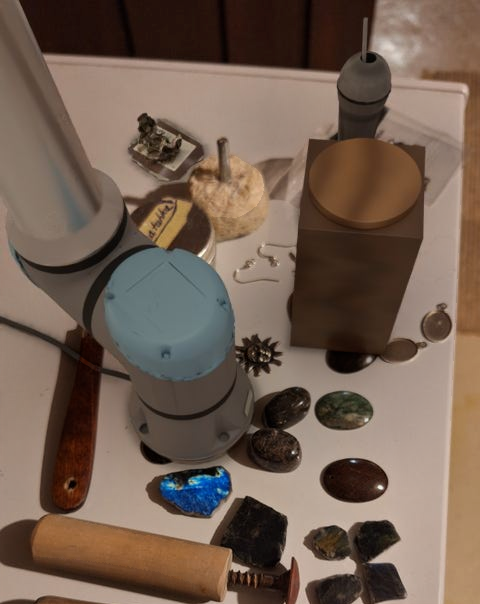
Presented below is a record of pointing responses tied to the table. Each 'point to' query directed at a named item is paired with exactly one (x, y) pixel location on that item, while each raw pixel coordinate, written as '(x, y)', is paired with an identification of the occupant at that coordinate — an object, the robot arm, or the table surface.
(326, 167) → the cork coaster
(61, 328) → the table surface
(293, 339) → the walnut stand
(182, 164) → the figurine on square base
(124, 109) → the table surface
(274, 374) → the table surface
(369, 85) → the beverage cup
